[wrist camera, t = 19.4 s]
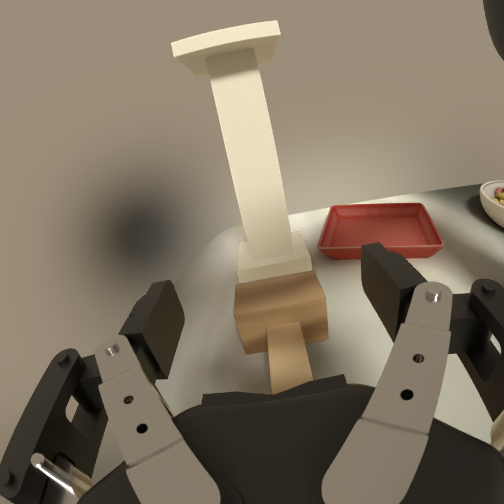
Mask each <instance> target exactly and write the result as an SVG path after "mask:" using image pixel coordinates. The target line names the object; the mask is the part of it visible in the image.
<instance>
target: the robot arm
mask: <svg viewBox="0 0 504 504" xmlns="http://www.w3.org/2000/svg"><path fill="white" fill-rule="evenodd" d="M483 4H484V10H485V16H486V20H487V25H488V29H489V33H490V36H491V39H492V41H493V44H494V46H495V48H496V50H497V52H498V54H499V55H500V56H501V58H502V59H503V60H504V0H483ZM361 279H362V286H363V289H364V292H365V294H366V295H367V297H368V299H369V301H370V302H371V304H372V306H373V307H374V309H375V311H376V312H377V314H378V316H379V318H380V319H381V321H382V323H383V325H384V326H385V328H386V330H387V332H388V334H389V335H390V337H391V339H392V341H393V343H394V345H393V348H392V350H391V353H390V355H389V358H388V360H387V363H386V365H385V368H384V370H383V372H382V375H381V377H380V379H379V382H378V384H377V386H376V388H375V387H372V386H368V385H362V384H347V383H346V380H345V376H344V374H341V375H337V376H333V377H328V378H323V379H318V380H313V381H308V382H306V383H303V384H301V385H298V386H296V387H293V388H290V389H288V390H285V391H282V392H279V393H277V394H272V395H268V394H256V393H245V392H226V393H213V394H203V398H202V404H201V405H198V406H195V407H192V408H190V409H187V410H185V411H183V412H182V413H180V414H178V415H177V416H175V415H174V414H173V412H172V411H171V409H170V408H169V406H168V404H167V403H166V401H165V400H164V398H163V397H162V395H161V393H160V392H159V390H158V388H157V387H156V385H155V382H156V379H168V376H169V372H170V369H171V366H172V362H173V359H174V355H175V352H176V349H177V345H178V342H179V339H180V336H181V332H182V329H183V326H184V321H185V318H184V312H183V309H182V306H181V303H180V301H179V298H178V296H177V293H176V291H175V288H174V285H173V283H172V282H171V281H170V280H165V281H160V282H154V283H152V285H151V287H150V288H149V290H148V292H147V294H146V295H144V296H143V297H142V298H141V299H140V300H139V301H137V302H136V304H135V306H134V307H133V309H132V311H131V313H130V314H129V317H128V318H127V320H126V322H125V323H124V325H123V327H122V329H121V330H120V332H119V334H118V335H114V336H111V337H108V338H106V339H105V340H103V341H102V342H101V343H100V344H99V345H98V346H97V348H96V350H95V354H94V355H90V356H87V357H83V358H81V356H80V355H79V353H78V352H77V350H75V349H72V348H70V349H66V350H63V351H61V352H60V353H58V354H57V355H56V356H55V357H54V358H53V360H52V361H51V363H50V365H49V366H48V368H47V370H46V371H45V373H44V375H43V376H42V378H41V380H40V382H39V384H38V385H37V387H36V389H35V391H34V393H33V395H32V397H31V398H30V401H29V402H28V404H27V406H26V408H25V410H24V412H23V414H22V416H21V418H20V420H19V422H18V424H17V426H16V428H15V431H14V433H13V435H12V437H11V440H10V442H9V444H8V446H7V449H6V451H5V454H4V456H3V458H2V461H1V464H0V495H1V496H3V497H4V498H6V499H7V500H9V501H11V502H12V503H14V504H504V288H503V287H502V286H501V285H500V284H499V283H497V282H495V281H493V280H490V279H479V280H476V281H475V282H474V283H473V284H472V287H471V291H470V293H465V294H452V291H451V290H450V288H449V287H447V286H446V285H444V284H442V283H439V282H428V281H427V280H426V279H425V278H424V277H423V276H422V275H421V274H420V273H419V272H418V271H417V270H416V269H415V268H413V266H412V265H411V264H410V263H408V261H407V260H406V259H405V258H404V257H403V256H402V255H401V254H398V253H396V252H394V251H388V250H387V249H386V248H385V247H384V246H383V245H382V244H381V243H380V242H374V243H369V244H364V245H362V246H361ZM492 334H493V335H494V336H495V338H496V339H497V340H498V342H499V344H500V346H501V355H500V353H499V352H498V350H497V349H496V347H495V346H494V345H493V343H492V342H491V340H490V338H491V336H492ZM455 353H457V355H458V357H459V358H460V360H461V362H462V363H463V365H464V367H465V369H466V370H467V372H468V374H469V376H470V378H471V379H472V381H473V383H474V385H475V387H476V389H477V391H478V392H479V394H480V396H481V398H482V400H483V402H484V404H485V406H486V408H487V410H488V413H489V415H490V417H491V419H492V421H493V425H492V427H491V433H490V435H491V443H490V444H488V443H486V442H484V441H481V440H479V439H477V438H475V437H473V436H471V435H468V434H466V433H464V432H462V431H460V430H458V429H456V428H454V427H452V426H450V425H448V424H446V423H444V422H442V421H440V420H438V419H436V418H434V413H435V410H436V406H437V402H438V398H439V394H440V390H441V386H442V382H443V377H444V372H445V367H446V362H447V356H448V354H455ZM71 395H72V396H73V397H74V399H75V400H76V401H77V402H78V403H79V405H78V407H77V410H76V412H75V415H74V417H73V420H72V422H71V423H70V422H69V420H68V419H67V418H66V413H65V410H66V406H67V404H68V402H69V399H70V397H71ZM108 419H109V421H110V424H111V427H112V429H113V432H114V435H115V437H116V440H117V442H118V444H119V447H120V450H121V452H122V454H123V457H124V459H125V461H124V462H122V463H121V464H120V465H119V466H118V467H116V468H115V469H114V470H113V471H112V472H110V473H109V474H108V475H106V476H105V477H104V478H103V479H102V480H100V481H99V482H98V483H96V484H95V485H94V486H93V485H92V481H91V477H92V474H93V470H94V466H95V463H96V459H97V455H98V452H99V448H100V445H101V441H102V438H103V435H104V431H105V428H106V425H107V422H108Z"/></svg>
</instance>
